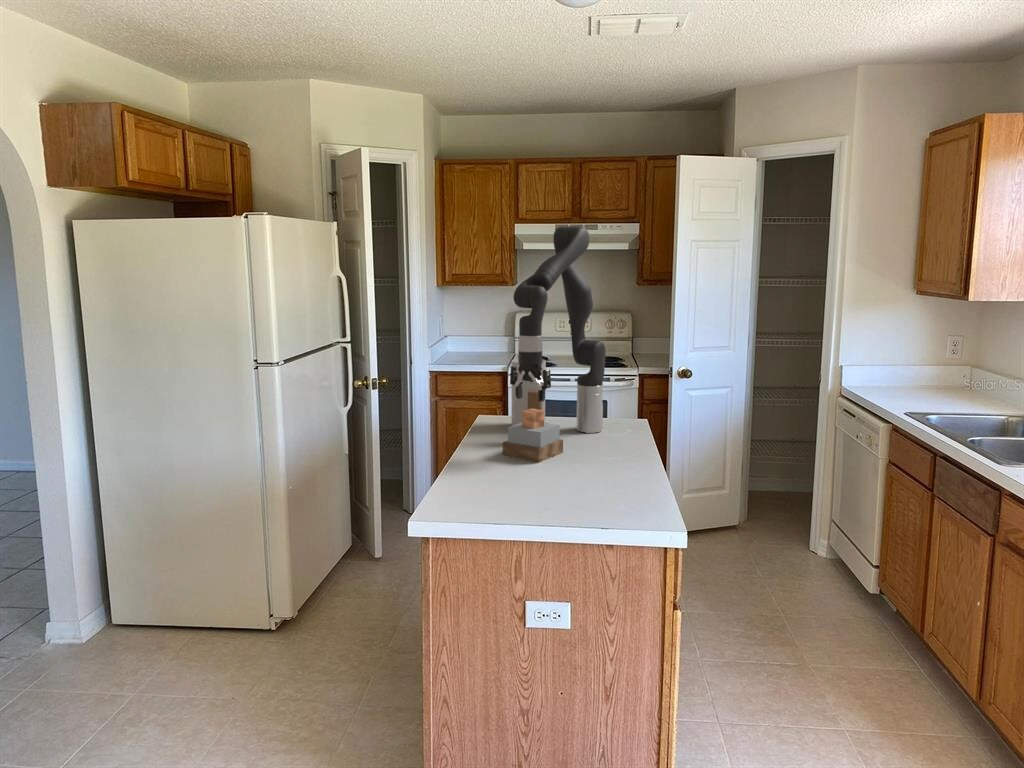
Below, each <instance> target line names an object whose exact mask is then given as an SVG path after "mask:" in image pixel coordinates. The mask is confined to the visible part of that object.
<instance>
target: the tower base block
mask: <svg viewBox="0 0 1024 768" xmlns="http://www.w3.org/2000/svg"><path fill="white" fill-rule="evenodd" d="M561 453H563V454H564V440H563V439H560V438H559V440H558V441H556V442H553V443H551V444H549V445H546V446H544V447H542V448H537V447H531V446H525V445H519V444H513V443H508V439H507V440H505V441H502V456H503V455H504V456H503V457H507V456H509V457H508V458H512V457H514V458H513V459H517V458H519V459H518V460H521V459H524V460H523V461H526V460H529V461H528V462H531V461H534V462H533V463H536V462H538V464H539V462H540V463H542V462H544V461H543V460H545V461H547V460H550V459H552V458H554V456H555V457H557V456H560V455H562V454H561ZM559 454H560V455H559ZM556 455H557V456H556ZM551 457H552V458H551ZM549 458H550V459H549ZM546 459H547V460H546ZM541 461H542V462H541Z"/></svg>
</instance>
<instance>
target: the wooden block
mask: <svg viewBox="0 0 1024 768" xmlns="http://www.w3.org/2000/svg"><path fill="white" fill-rule="evenodd" d="M528 409H537V410H542V402H539V401H538V390H529V391H528Z"/></svg>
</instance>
